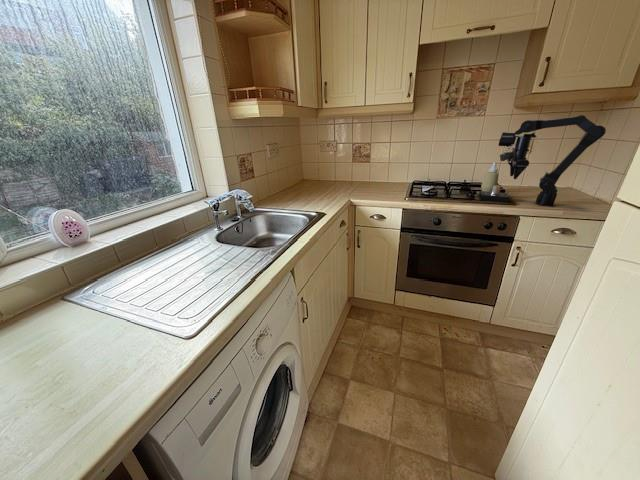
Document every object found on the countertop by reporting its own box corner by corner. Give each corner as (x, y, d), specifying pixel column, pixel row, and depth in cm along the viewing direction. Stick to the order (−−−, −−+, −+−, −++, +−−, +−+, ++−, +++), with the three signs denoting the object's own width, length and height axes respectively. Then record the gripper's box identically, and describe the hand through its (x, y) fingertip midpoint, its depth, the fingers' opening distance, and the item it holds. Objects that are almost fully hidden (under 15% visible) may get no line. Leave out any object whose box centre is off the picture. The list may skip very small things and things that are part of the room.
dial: (489, 192, 147) (491, 184, 145) (498, 193, 146) (500, 184, 144) (490, 194, 144) (492, 185, 142) (499, 195, 142) (501, 186, 140)
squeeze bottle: (482, 194, 156) (489, 163, 149) (478, 191, 164) (485, 161, 156) (497, 194, 155) (505, 163, 147) (492, 191, 162) (500, 161, 155)
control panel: (504, 198, 148) (506, 192, 146) (508, 202, 139) (509, 196, 138) (478, 196, 152) (479, 190, 151) (480, 200, 144) (481, 194, 143)
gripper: (500, 145, 145) (493, 173, 151) (506, 147, 129) (498, 179, 136) (524, 145, 141) (516, 175, 147) (534, 148, 125) (524, 181, 131)
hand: (512, 177), depth 140 cm, fingers open, 9 cm apart
